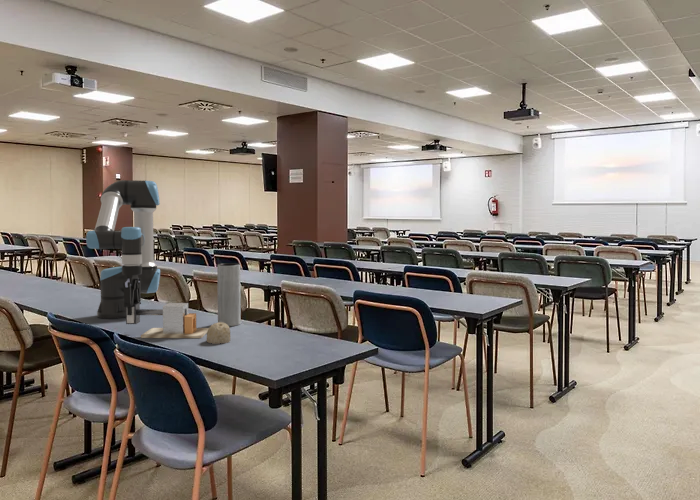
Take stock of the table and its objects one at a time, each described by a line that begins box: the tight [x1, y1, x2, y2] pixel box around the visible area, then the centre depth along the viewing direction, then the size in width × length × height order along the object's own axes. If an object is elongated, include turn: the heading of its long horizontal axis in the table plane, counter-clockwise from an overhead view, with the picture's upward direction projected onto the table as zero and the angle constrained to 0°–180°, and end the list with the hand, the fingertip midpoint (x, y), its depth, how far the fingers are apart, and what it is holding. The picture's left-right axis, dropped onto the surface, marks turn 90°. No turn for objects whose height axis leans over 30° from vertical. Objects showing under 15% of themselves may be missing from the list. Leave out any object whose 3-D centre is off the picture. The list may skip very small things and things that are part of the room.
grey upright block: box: [162, 302, 189, 334], centre depth 225 cm, size 8×8×11 cm
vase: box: [216, 262, 242, 327], centre depth 245 cm, size 10×10×27 cm
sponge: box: [206, 322, 231, 345], centre depth 214 cm, size 9×10×10 cm
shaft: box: [125, 303, 163, 325], centre depth 224 cm, size 22×4×8 cm, turn 92°
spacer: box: [184, 312, 197, 334], centre depth 225 cm, size 3×7×7 cm, turn 2°
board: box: [140, 327, 210, 339], centre depth 225 cm, size 24×14×1 cm, turn 92°
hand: (133, 321), depth 224 cm, fingers closed on shaft, 4 cm apart
